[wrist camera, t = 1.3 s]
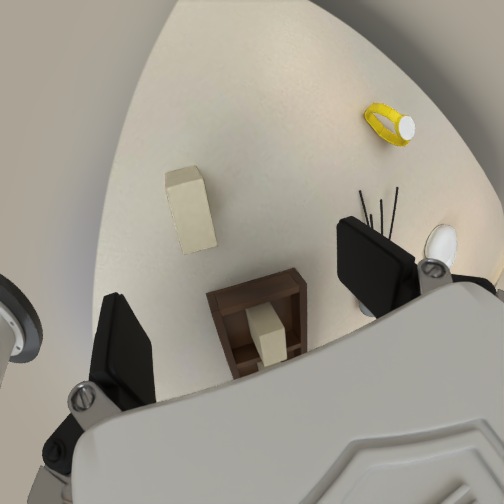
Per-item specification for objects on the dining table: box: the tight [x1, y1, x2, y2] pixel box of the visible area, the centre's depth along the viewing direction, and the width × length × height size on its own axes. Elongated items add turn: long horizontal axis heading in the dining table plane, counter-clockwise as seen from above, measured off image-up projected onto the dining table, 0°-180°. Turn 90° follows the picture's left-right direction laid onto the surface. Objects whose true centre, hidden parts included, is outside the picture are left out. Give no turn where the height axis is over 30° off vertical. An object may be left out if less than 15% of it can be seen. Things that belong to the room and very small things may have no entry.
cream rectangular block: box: [165, 166, 217, 255], centre depth 24 cm, size 3×6×6 cm, turn 8°
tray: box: [206, 268, 307, 380], centre depth 40 cm, size 11×32×4 cm, turn 9°
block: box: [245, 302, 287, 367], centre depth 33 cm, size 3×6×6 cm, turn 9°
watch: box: [364, 103, 415, 147], centre depth 26 cm, size 6×3×6 cm, turn 52°
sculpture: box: [425, 225, 457, 270], centre depth 40 cm, size 12×15×8 cm
